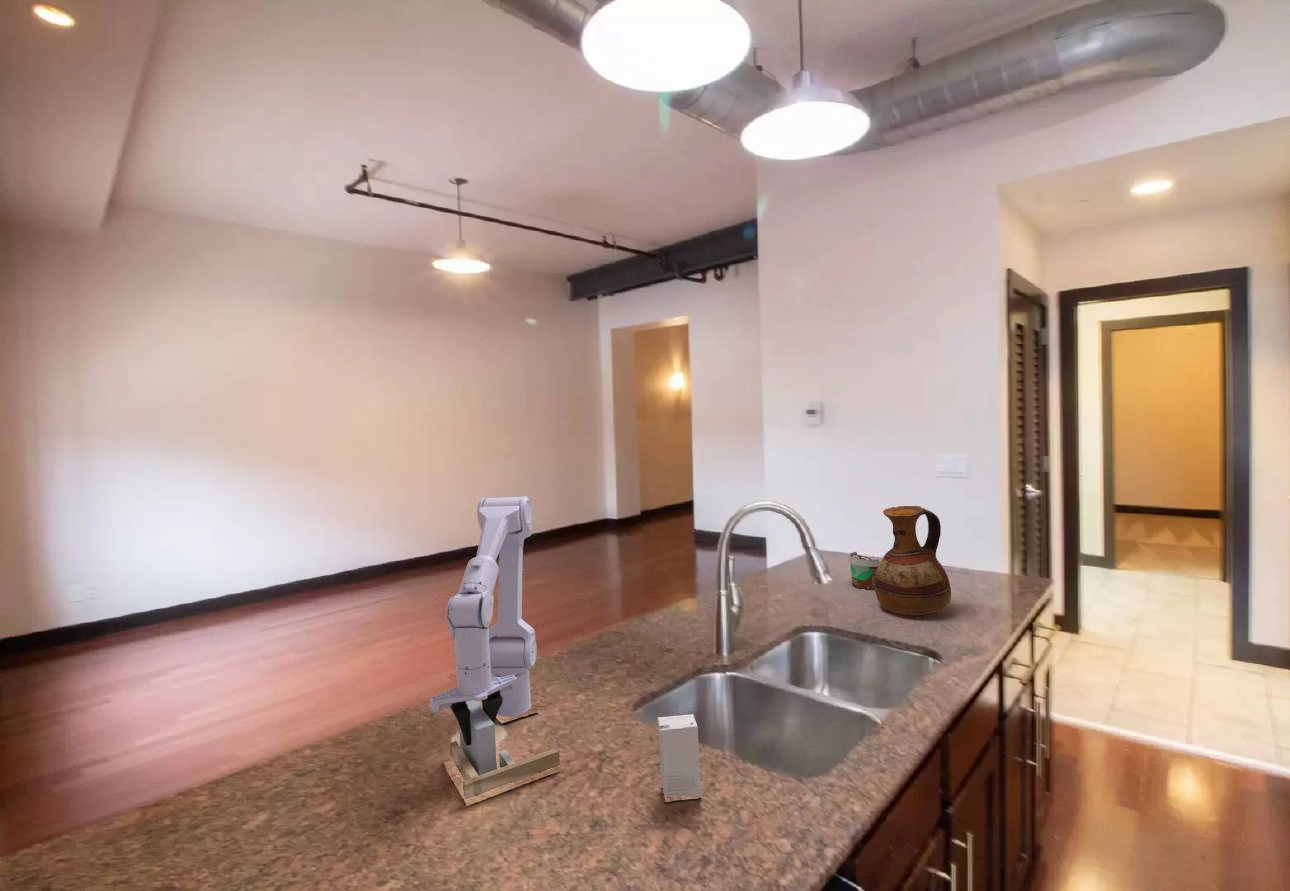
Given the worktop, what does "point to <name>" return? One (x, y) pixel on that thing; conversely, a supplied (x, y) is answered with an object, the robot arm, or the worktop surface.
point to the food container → (863, 571)
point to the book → (480, 740)
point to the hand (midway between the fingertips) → (477, 739)
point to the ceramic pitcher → (912, 566)
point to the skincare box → (679, 755)
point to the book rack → (500, 769)
